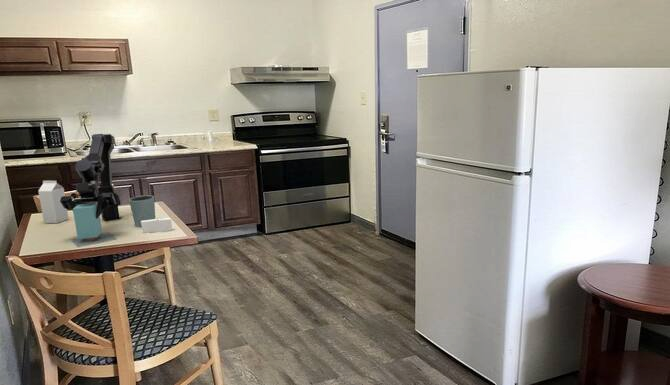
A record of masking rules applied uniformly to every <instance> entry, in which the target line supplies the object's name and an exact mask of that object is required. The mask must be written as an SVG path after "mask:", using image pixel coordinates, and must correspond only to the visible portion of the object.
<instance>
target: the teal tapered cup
mask: <svg viewBox="0 0 670 385" xmlns="http://www.w3.org/2000/svg"><path fill="white" fill-rule="evenodd" d="M155 201H156V200H155V196H154V195H146V194H145V195H139V196H134V197H131V198H129V199H128V202H129V206H130V210H131V214H132V218H133V223H134V226H135V227H137V228H138V227H139V228H142V226H141V221H144V220H152V219H156V205H155Z"/></svg>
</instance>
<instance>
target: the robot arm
mask: <svg viewBox="0 0 670 385" xmlns="http://www.w3.org/2000/svg"><path fill="white" fill-rule="evenodd" d="M90 143H91V144H90V148H89V151H88V155H86V156H84V157H81V159H80V160H78V161H77V162H76V163H75V165H74V168H75V170H76V172H77V173H78V175H79V177H80V179H82V182H78V183H76V184H75V185H76V187H75V188H76V192H77V194H78V196H79V197H76V198H75V197H74V196H73V195H65V196H62V197H61V199H60V202H61V204H62V205H63V207H64V208H65V209H67V210H71V211H73V208H75V207H76V206H77V205H79V204H94V203H98V206H97V211H96V219H98V217H99V216H100V217H101V220H104V221H105V222H107V221H113V220H118V219H119V220H120V219H121V218H122V217H121V216H120V211H119V206H122V203H121V198H120V196H119V194H118V193H117V189H116V188H115V187H114V185H113V178H112V177H113V176H112V175H113V174H112V158H111V157H112V156H111V153H112V152H113V150H114V149H115V143H116V140H115V136H114V135H112V134H111V133H105V134H103V133H94V134H92V135H91V142H90ZM99 174H100V175H99ZM99 183H100V185H99ZM72 214H73V215H74V213H73V212H72Z"/></svg>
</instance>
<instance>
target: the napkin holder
mask: <svg viewBox="0 0 670 385" xmlns="http://www.w3.org/2000/svg"><path fill="white" fill-rule="evenodd" d="M141 226H142V227H141V232H142V233H143V234H145V233H149V234H151V233H163V232H169V231H173V224H172V218H171V217H166V218H155V219H152V220H144V221H141Z"/></svg>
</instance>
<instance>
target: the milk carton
mask: <svg viewBox="0 0 670 385" xmlns="http://www.w3.org/2000/svg"><path fill="white" fill-rule="evenodd" d="M57 181H58V180H42V185H41V186H40V188H38V191H37V192H38V196H39V197H38V198H39V202H40V209H41V213H42V221H43V223H44V224H58V223H61V222H64V221H65V222H66V221H68V220H70V219H69V213H68V209H65V208H64V207H63V205H62V204H61V202H60V199H61V197H62V196H66V193H65V188H64V187H63V186H62V185H60V184H59V183H57Z"/></svg>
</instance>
